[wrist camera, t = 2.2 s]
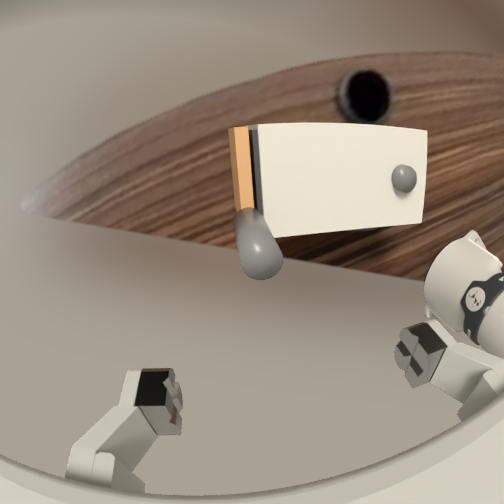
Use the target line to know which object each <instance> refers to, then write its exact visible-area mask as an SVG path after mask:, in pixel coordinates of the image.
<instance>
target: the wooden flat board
mask: <svg viewBox="0 0 504 504" xmlns="http://www.w3.org/2000/svg"><path fill="white" fill-rule="evenodd" d="M228 132H229V144H230V155H231V166H232V177H233V188H234V199H235V205H236V209H237V213H236V215H235V217H234V221H233V224H234V230H235V235H236V241H237V246H238V251H239V257H240V262H241V267H242V270H243V271H244V273H245V274H246V275H247V276H248V277H250V278H252V279H256V280H265V279H269V278H271V277H273V276H274V275H276V274H277V273H278V272H279V270H280V269H281V267H282V264H283V255H282V252H281V250H280V248H279V246H278V244H277V242H276V240H275V239H274V237H273V235H272V233H271V231H270V229H269V227H268V225H267V223H266V221H265V219H264V217H263V215H262V214H261V212H260V211H259V210H257V209H255V208H254V200H253V187H252V173H251V160H250V147H249V134H248V126H247V127H235V128H229V129H228Z"/></svg>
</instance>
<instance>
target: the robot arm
mask: <svg viewBox="0 0 504 504" xmlns="http://www.w3.org/2000/svg"><path fill="white" fill-rule="evenodd" d="M502 265H503V264H502V263H501V262H500V261H499V259H498V258H497V257H496V256H494V255H492V254H491V253H489V252H488V251H487V249H486V248H485V246H484V244H483V242H482V240H481V239H480V237H479V235H478V234H477V233H476V232H475V231H474V230H472V231H470V232H469V233H468V234H467V235H466V236H464V237H463V238H461V239H458V240H455V241H453V242H452V243H450V244H449V245H447V246H446V247H445V248H444V249H443V250H442V251H441V252H440V253H439V255H438V256H437V257H436V259H435V260H434V262H433V264H432V265H431V267H430V269H429V272H428V274H427V277H426V280H425V284H424V298H425V303H426V305H425V310H424V316H426V317H427V318H439V319H440V320H441V321H442V322H443V323H444V324H445V325H446V326H447V327H448V328H449V329H450V330H452V331H453V332H456V331H457V332H460V331H464V332H465V333H466V334H467V336H468V337H469V339H471V341H473V342H474V343H475V344H477V345H481V346H482V348H483V349H484V350H485V351H486V352H484V351H482V350H479V349H477V348H474V347H472V346H469V345H467V344H464V343H462V342H459V343H457V341H456V340H455V339H454V338H453V337H452V336H451V335H450V334H449V333H448V332H447V330H446V329H445V328H444V327H443V326H442V325H441V324H440V323H439V322H438V321H437V320H435V319H432V320H428V321H425V322H423V323H419V324H416V325H413V326H410V327H407V328H403V329H402V331H401V332H400V335H399V337H400V339H401V341H400V342H399V343H398V344H397V345H396V348H395V352H394V353H395V360H396V363H397V365H398V366H399V368H400V369H402V370H404V371H405V377H406V379H407V380H408V382H409V383H410V385H411V387H412V388H415V387H417V386H420V385H422V384H425V383H427V382H430V383H431V384H432V385H434V386H436V387H438V388H439V389H440V390H442V391H444V392H445V393H447V394H449V395H450V396H452V397H453V398H455V399H457V400H458V401H460V402H461V403H463V405H462V407H461V408H460V410H459V411H458V417H459V418H460V420H461V422H460V423H458V424H456V425H455V426H453V427H451V428H449V429H448V430H446V431H444V432H442V433H440V434H439V435H437V436H435V437H433V438H431V439H429V440H427V441H425V442H423V443H421V444H419V445H417V446H415V447H413V448H411V449H408V450H406V451H404V452H402V453H399V454H397V455H394V456H392V457H390V458H387V459H385V460H382V461H379V462H377V463H375V464H371V465H368V466H366V467H363V468H360V469H357V470H354V471H351V472H347V473H345V474H341V475H338V476H334V477H330V478H326V479H322V480H318V481H315V482H310V483H306V484H301V485H296V486H291V487H285V488H280V489H273V490H267V491H259V492H251V493H241V494H228V495H205V496H204V495H203V496H185V495H183V496H182V495H162V494H149V493H145V484H144V483H143V481H142V480H141V479H139V478H138V477H137V476H136V475H135V474H133V473H132V471H133V470H134V469H135V467H136V466H137V465H138V463H139V462H140V461H141V459H142V458H143V456H144V455H145V454H146V452H147V451H148V449H149V448H150V447H151V445H152V444H153V442H154V441H155V440H156V438H157V435H181V429H182V418H181V416H180V414H179V412H180V411H181V409H182V407H183V401H182V392H181V388H180V385H179V383H177V382H175V373H174V371H173V369H172V368H155V369H154V368H153V369H129V370H128V372H127V374H126V378H125V382H124V386H123V389H122V394H121V398H120V402H119V406H114V407H113V408H112V409H111V410H110V411H109V412H108V413H107V414H106V415H105V416H103V417H102V419H100V420H99V421H98V422H97V423H96V424H95V425H94V426H93V427H92V428H91V429H90V430H89V431H88V432H87V433H86V434H84V436H82V437H81V438H80V439H79V440H78V441H77V442H76V443H75V444H74V445H73V446H72V449H71V453H70V457H69V461H68V466H67V470H66V475H65V478H63V477H59V476H56V475H52V474H49V473H46V472H43V471H40V470H37V469H35V468H32V467H29V466H27V465H24V464H21V463H19V462H17V461H14V460H12V459H9V458H7V457H5V456H3V455H0V504H504V273H502V271H501V267H502Z"/></svg>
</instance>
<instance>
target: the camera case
mask: <svg viewBox="0 0 504 504" xmlns="http://www.w3.org/2000/svg"><path fill="white" fill-rule="evenodd" d="M243 127H247V126H243ZM248 134H249V147H250V160H251V173H252V187H253V200H254V208H255V209H257V210H259V211H260V212H261V214H262V215H263V217H264V219H265V221H266V223H267V225H268V227H269V229H270V231H271V233H272V235H273V237H274V238H277V237H286V236H296V235H305V234H314V233H324V232H334V231H343V230H349V231H370V230H374V229H377V228H378V227H383V226H394V225H404V224H415V223H421V221H422V213H423V204H424V194H425V182H426V165H427V131H425V130H417V129H409V128H401V127H391V126H379V125H366V124H346V123H277V124H257V125H250V126H248Z"/></svg>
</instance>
